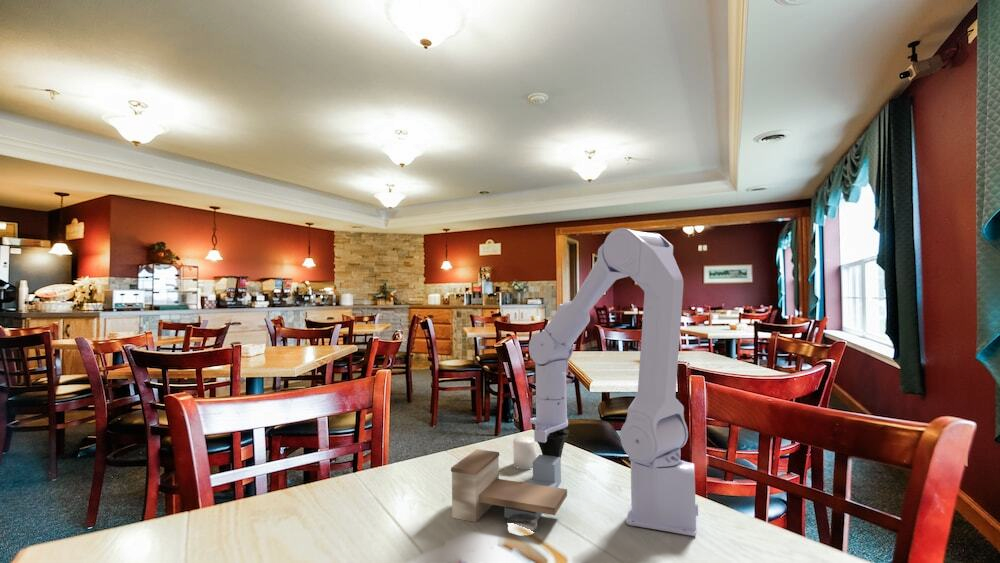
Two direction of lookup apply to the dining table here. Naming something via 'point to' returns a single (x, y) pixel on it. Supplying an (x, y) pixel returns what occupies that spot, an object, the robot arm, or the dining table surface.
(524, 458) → the white rounded cylinder
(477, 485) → the plinth shelf
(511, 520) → the tape roll
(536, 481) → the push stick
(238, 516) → the dining table surface
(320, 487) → the dining table surface
